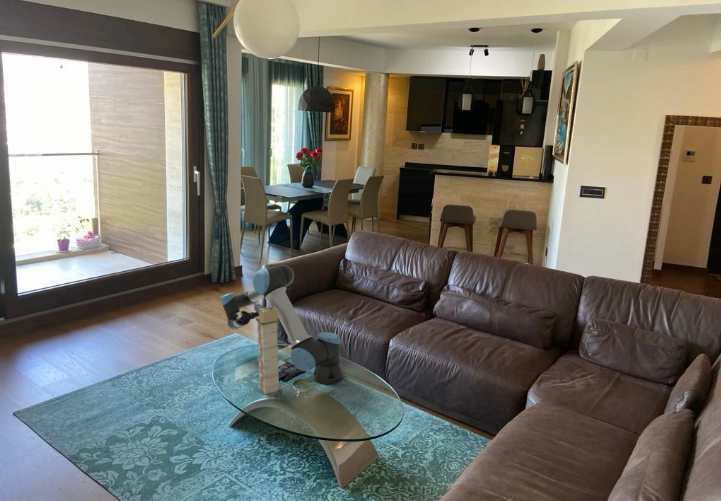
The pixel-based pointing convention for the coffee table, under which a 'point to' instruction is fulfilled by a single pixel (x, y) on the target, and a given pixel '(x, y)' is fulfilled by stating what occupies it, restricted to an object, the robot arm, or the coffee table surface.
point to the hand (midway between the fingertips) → (254, 312)
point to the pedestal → (268, 356)
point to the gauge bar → (266, 313)
